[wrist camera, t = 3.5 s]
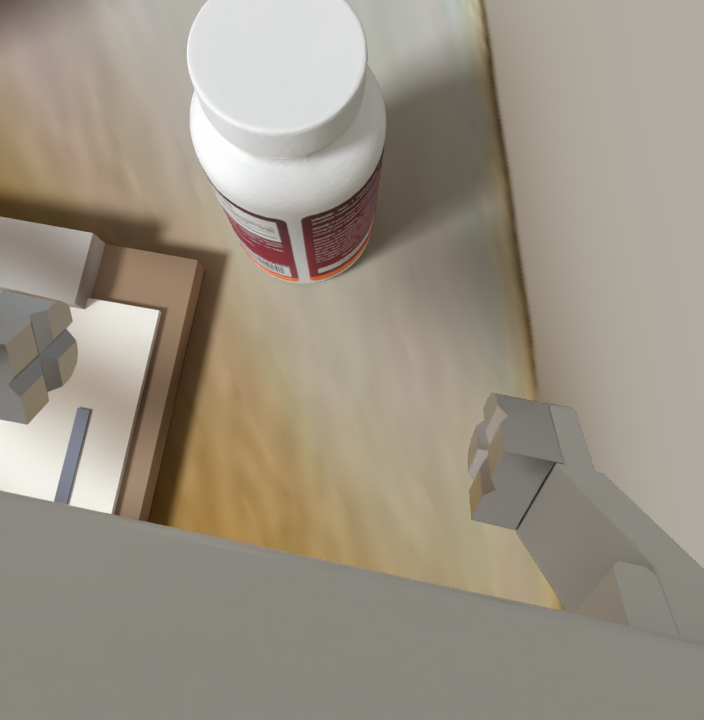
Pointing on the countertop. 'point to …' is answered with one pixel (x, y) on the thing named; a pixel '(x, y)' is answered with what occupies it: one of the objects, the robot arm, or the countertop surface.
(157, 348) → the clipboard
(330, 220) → the pill bottle
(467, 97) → the countertop surface
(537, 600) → the countertop surface
